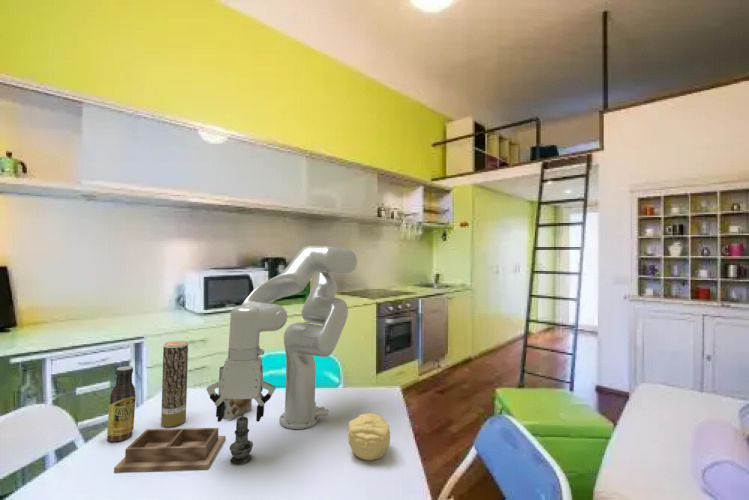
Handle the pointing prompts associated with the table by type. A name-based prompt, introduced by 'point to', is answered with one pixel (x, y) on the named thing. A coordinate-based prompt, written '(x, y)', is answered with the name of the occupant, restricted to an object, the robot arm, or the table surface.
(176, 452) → the condiment rack
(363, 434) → the sculpture
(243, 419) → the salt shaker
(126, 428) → the sauce bottle
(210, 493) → the table surface
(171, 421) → the paper tube
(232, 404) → the coffee box
